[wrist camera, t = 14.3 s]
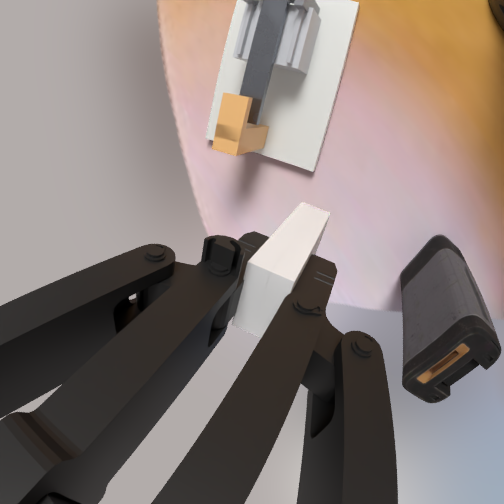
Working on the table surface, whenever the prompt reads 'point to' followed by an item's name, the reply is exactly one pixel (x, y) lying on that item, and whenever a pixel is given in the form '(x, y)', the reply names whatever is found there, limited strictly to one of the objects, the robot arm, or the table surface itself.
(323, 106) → the board
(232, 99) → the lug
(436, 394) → the electronic device
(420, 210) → the table surface
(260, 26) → the strap
